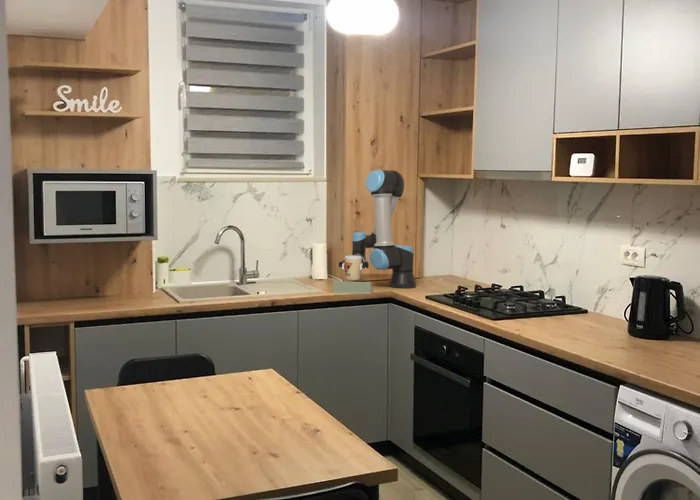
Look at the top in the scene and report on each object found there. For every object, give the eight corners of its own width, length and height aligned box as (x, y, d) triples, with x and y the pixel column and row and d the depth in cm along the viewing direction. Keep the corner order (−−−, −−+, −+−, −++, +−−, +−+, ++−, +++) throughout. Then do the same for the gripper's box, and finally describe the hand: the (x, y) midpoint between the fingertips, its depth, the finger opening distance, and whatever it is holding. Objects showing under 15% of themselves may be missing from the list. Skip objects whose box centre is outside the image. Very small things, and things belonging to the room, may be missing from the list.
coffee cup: (341, 278, 403) (341, 255, 402) (356, 277, 407) (357, 255, 406) (348, 280, 395) (348, 257, 393) (364, 279, 399) (365, 257, 397)
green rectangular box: (373, 289, 407) (373, 278, 406) (370, 293, 393) (370, 282, 392) (336, 289, 409) (336, 278, 408) (332, 292, 395) (333, 281, 395)
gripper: (375, 269, 417) (372, 274, 395) (337, 267, 419) (331, 273, 397) (376, 255, 416) (372, 260, 394) (337, 254, 419) (331, 259, 396)
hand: (351, 266), depth 395 cm, fingers closed on coffee cup, 9 cm apart
